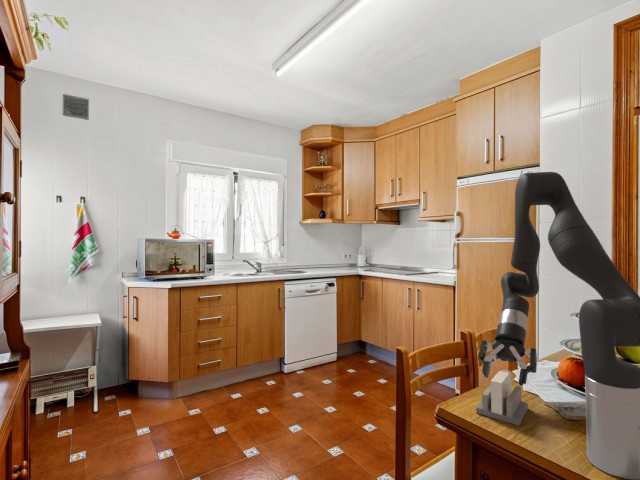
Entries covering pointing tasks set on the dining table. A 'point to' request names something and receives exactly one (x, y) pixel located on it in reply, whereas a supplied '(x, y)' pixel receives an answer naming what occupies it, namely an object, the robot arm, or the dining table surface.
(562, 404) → the ceramic fragment
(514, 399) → the grey twin-fin stand
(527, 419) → the dining table surface
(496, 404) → the cream rectangular slab
